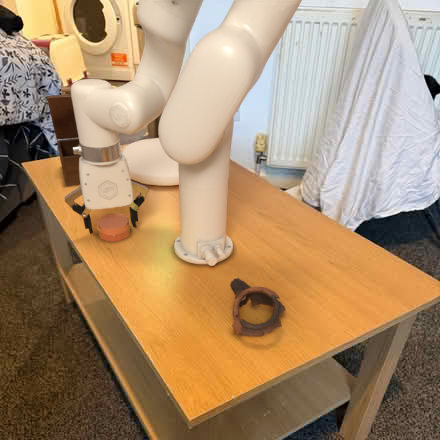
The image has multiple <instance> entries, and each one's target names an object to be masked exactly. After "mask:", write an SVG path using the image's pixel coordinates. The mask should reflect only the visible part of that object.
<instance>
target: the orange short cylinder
mask: <svg viewBox="0 0 440 440" xmlns="http://www.w3.org/2000/svg"><path fill="white" fill-rule="evenodd" d="M96 226H97V227H96V228H97V232H98V237H99V238H100V239H101V240H103V241H105V242H119V241H123V240H125V239H126V238H128V237H129V236H130V234H131V230H130V221H129V218H128V217H127V215H124V214H122V213H108V214H105V215H102V216H100V217H99V218H98V219H97V220H96Z"/></svg>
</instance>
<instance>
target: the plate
mask: <svg viewBox="0 0 440 440" xmlns="http://www.w3.org/2000/svg"><path fill="white" fill-rule="evenodd" d="M121 153H122V154H123V155H124V156H125V157H126V160H127V163H128V167H129V171H130V176H131V180H133V181H134V182H136V183H139V184H142V185H148V186H149V185H151V186H152V185H153V186H163V187H164V186H165V187H166V186H167V187H169V186H171V187H172V186H179V171H178V165H179V163H178V162H176V161H174V160H172V159H171V158H170V157H169V156H168V155H167V154H166V153H165V151H164V150H163V148H162V146H161V143H160V140H159V137H155V138H153V137H152V138H146V139H140V140H136V141H134V142H132V143H129V144H128V145H126V146H125V147H124V148H123V150H121Z"/></svg>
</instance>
